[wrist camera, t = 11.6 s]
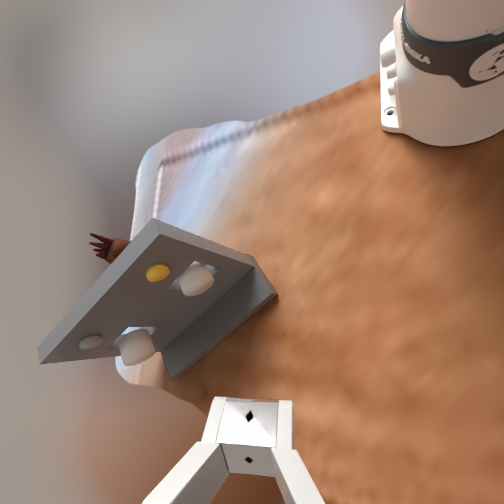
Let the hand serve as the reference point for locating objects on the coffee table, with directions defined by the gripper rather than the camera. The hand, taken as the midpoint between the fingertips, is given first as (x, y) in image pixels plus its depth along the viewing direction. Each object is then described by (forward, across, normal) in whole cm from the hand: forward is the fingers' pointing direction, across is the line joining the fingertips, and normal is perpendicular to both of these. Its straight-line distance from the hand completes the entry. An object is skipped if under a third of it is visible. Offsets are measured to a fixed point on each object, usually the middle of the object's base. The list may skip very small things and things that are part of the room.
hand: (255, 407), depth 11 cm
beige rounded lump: (+25, +12, +10) cm, 30 cm away
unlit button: (+22, +22, +20) cm, 37 cm away
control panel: (+29, +13, +21) cm, 38 cm away
